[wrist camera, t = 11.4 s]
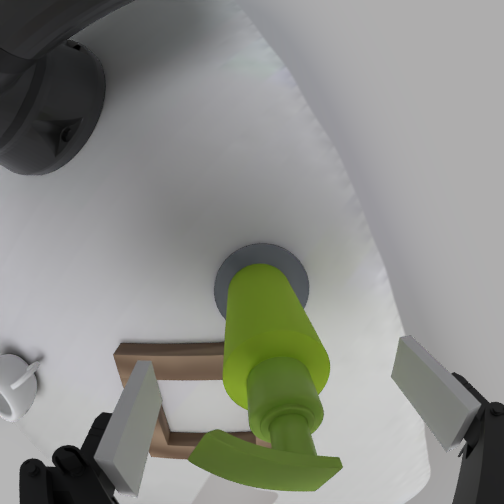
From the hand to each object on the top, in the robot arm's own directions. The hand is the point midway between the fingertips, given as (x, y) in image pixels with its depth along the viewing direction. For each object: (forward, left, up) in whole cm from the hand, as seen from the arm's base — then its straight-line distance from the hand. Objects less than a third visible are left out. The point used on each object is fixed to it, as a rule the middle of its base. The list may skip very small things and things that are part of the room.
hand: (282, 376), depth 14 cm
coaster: (0, 0, -15) cm, 15 cm away
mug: (+11, -33, -15) cm, 38 cm away
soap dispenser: (0, -1, -14) cm, 14 cm away
